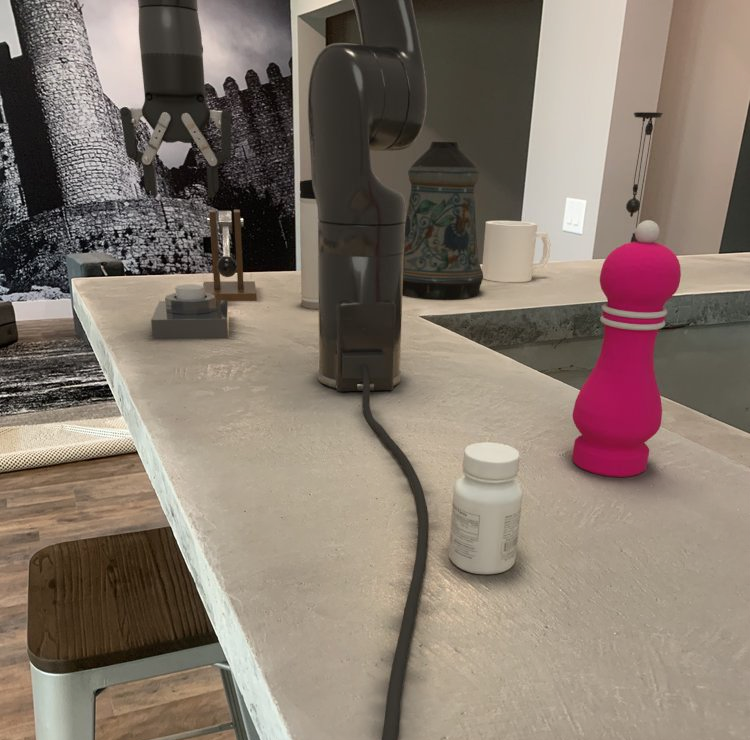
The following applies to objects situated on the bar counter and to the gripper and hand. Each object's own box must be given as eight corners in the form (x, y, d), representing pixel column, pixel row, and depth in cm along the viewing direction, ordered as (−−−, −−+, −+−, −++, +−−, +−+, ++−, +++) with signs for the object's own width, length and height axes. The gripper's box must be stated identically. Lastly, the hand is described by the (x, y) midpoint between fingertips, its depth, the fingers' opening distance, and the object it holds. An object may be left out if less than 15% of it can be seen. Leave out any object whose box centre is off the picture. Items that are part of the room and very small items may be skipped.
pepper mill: (588, 442, 71) (622, 214, 63) (664, 462, 67) (713, 221, 59) (551, 464, 66) (584, 219, 58) (632, 487, 62) (679, 227, 53)
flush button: (204, 302, 106) (203, 289, 106) (175, 302, 106) (174, 289, 105) (205, 296, 110) (204, 284, 109) (177, 296, 109) (176, 284, 109)
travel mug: (336, 311, 123) (336, 176, 114) (296, 308, 124) (294, 174, 115) (345, 304, 128) (346, 174, 120) (307, 301, 129) (305, 173, 121)
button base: (228, 338, 105) (226, 305, 103) (153, 339, 103) (149, 306, 101) (228, 318, 116) (227, 288, 114) (161, 319, 115) (158, 288, 113)
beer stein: (431, 303, 130) (439, 141, 120) (365, 285, 145) (367, 140, 134) (500, 294, 139) (514, 143, 129) (432, 279, 154) (439, 141, 143)
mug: (534, 273, 163) (539, 220, 158) (555, 281, 154) (561, 225, 150) (474, 274, 160) (478, 220, 156) (492, 282, 151) (497, 225, 147)
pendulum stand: (256, 301, 129) (252, 214, 123) (201, 301, 127) (195, 213, 122) (255, 288, 140) (251, 208, 134) (204, 288, 138) (198, 207, 132)
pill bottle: (507, 544, 53) (519, 439, 49) (521, 576, 49) (534, 465, 46) (444, 543, 53) (452, 438, 49) (452, 576, 49) (461, 464, 45)
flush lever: (237, 281, 123) (236, 265, 121) (217, 281, 123) (216, 265, 120) (235, 224, 131) (234, 208, 128) (216, 224, 130) (214, 208, 128)
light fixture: (600, 267, 173) (622, 112, 160) (634, 267, 175) (659, 113, 161) (620, 274, 164) (646, 111, 151) (656, 274, 166) (685, 112, 153)
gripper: (107, 47, 91) (123, 197, 98) (230, 52, 93) (237, 199, 100) (116, 53, 97) (131, 193, 104) (230, 58, 99) (237, 195, 107)
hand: (183, 195), depth 102 cm, fingers open, 7 cm apart
